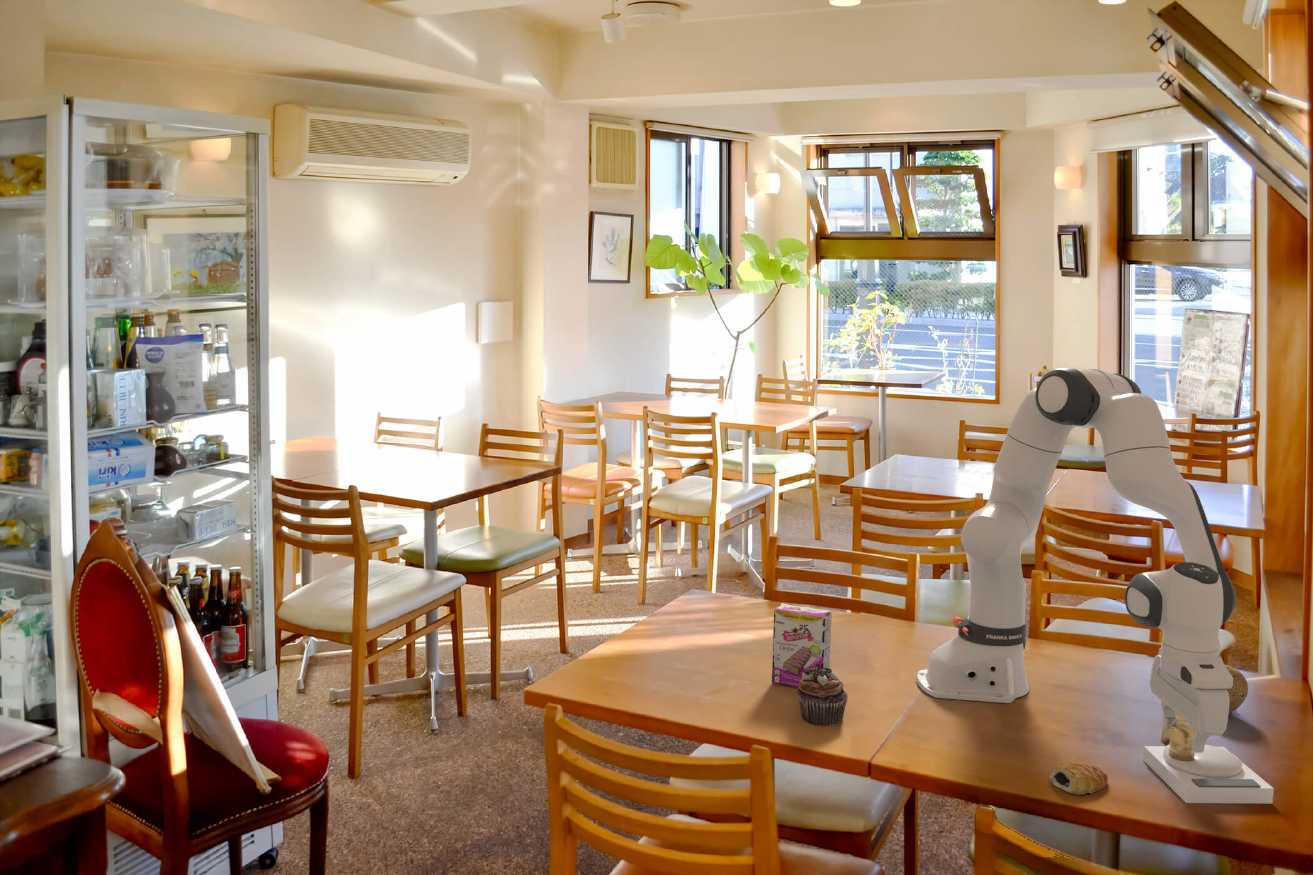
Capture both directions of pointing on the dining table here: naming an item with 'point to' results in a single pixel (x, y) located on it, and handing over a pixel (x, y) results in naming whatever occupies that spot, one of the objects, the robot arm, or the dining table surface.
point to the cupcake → (821, 697)
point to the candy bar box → (799, 642)
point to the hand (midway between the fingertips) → (1182, 738)
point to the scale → (1209, 776)
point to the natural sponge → (1237, 689)
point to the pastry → (1078, 778)
